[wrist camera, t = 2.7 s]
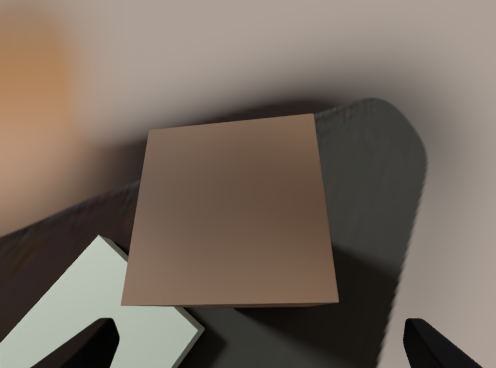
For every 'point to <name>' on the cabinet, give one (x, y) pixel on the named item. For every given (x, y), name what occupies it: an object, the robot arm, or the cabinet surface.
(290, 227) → the walnut block
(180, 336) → the sage board
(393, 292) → the cabinet surface
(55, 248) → the cabinet surface
